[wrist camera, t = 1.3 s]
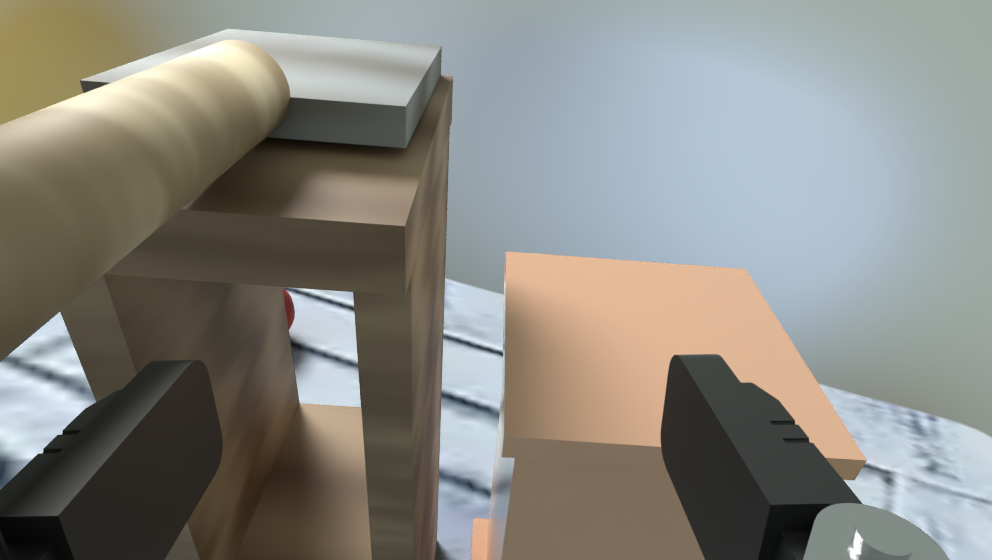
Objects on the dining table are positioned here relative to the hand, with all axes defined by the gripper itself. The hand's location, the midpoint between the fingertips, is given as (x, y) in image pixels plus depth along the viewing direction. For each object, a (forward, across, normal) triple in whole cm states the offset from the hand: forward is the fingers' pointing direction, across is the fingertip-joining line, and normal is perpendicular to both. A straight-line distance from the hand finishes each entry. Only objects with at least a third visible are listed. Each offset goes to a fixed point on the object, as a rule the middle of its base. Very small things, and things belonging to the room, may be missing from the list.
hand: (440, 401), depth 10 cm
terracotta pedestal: (+17, -6, +29) cm, 34 cm away
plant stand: (+17, +8, +28) cm, 34 cm away
